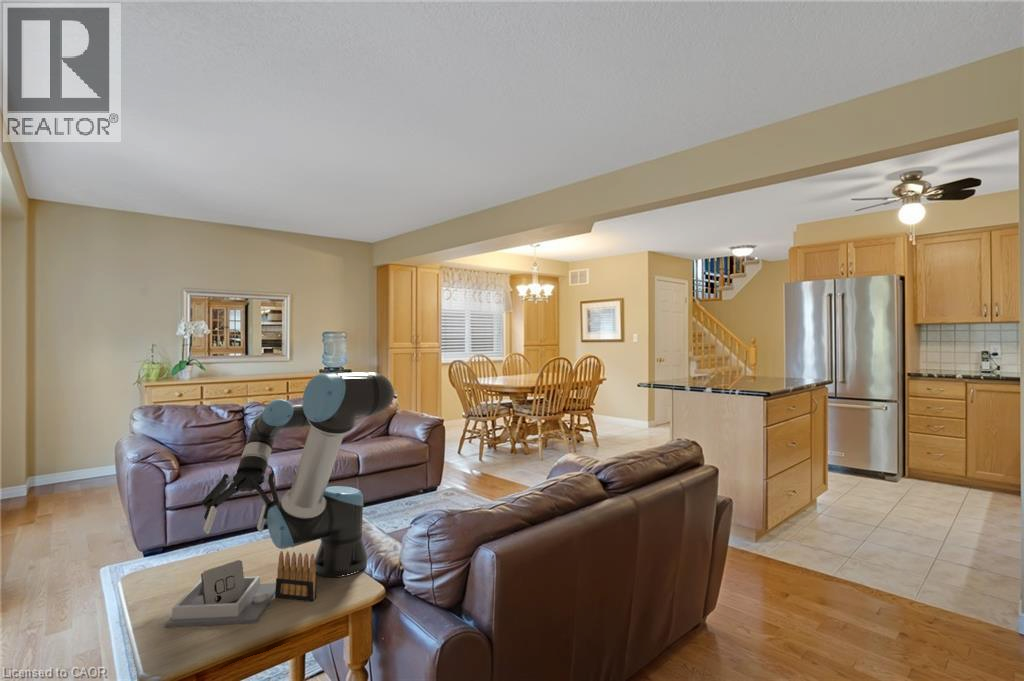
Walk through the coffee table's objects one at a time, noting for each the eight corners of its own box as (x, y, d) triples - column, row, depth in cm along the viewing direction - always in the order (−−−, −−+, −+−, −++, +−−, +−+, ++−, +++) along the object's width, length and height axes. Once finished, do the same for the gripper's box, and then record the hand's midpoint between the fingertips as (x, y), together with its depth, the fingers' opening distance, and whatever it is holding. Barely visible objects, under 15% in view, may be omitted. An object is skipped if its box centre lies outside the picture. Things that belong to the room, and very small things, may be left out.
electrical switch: (206, 612, 122) (206, 573, 122) (197, 607, 125) (197, 569, 125) (246, 597, 129) (245, 560, 130) (236, 593, 132) (236, 557, 133)
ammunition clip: (316, 598, 131) (317, 552, 131) (312, 602, 129) (314, 555, 129) (279, 594, 133) (280, 549, 133) (274, 597, 131) (276, 551, 131)
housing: (280, 585, 137) (280, 572, 137) (256, 622, 119) (256, 607, 119) (201, 589, 134) (201, 575, 134) (164, 627, 117) (165, 611, 117)
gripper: (300, 467, 155) (284, 535, 140) (213, 468, 151) (187, 537, 136) (295, 454, 149) (278, 523, 135) (206, 454, 146) (178, 525, 131)
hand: (233, 530), depth 135 cm, fingers open, 13 cm apart
